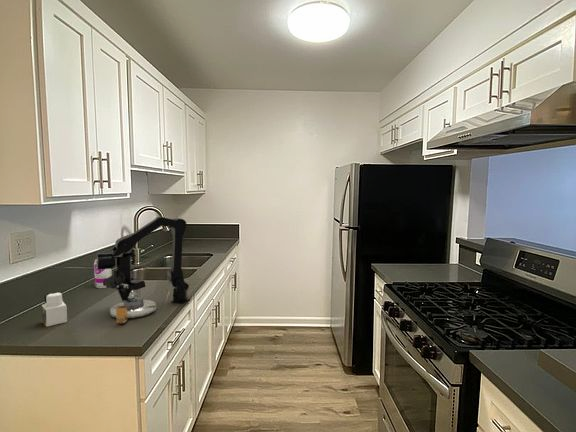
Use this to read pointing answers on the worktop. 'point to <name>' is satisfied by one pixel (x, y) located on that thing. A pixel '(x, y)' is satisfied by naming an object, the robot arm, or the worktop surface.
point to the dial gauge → (133, 294)
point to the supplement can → (101, 276)
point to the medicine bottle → (54, 309)
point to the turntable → (131, 311)
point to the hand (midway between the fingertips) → (124, 302)
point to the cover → (133, 303)
